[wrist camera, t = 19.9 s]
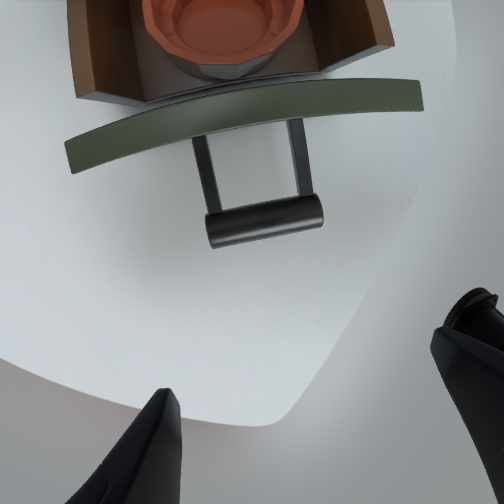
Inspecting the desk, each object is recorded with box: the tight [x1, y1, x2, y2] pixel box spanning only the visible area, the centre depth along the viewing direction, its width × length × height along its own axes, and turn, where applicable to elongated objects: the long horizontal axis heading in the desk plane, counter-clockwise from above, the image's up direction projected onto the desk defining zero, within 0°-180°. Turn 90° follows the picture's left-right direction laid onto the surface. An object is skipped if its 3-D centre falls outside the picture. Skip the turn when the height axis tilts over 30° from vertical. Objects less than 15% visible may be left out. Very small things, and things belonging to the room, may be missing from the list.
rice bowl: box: [142, 0, 304, 79], centre depth 10 cm, size 6×6×4 cm
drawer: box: [64, 0, 424, 249], centre depth 10 cm, size 18×12×8 cm
